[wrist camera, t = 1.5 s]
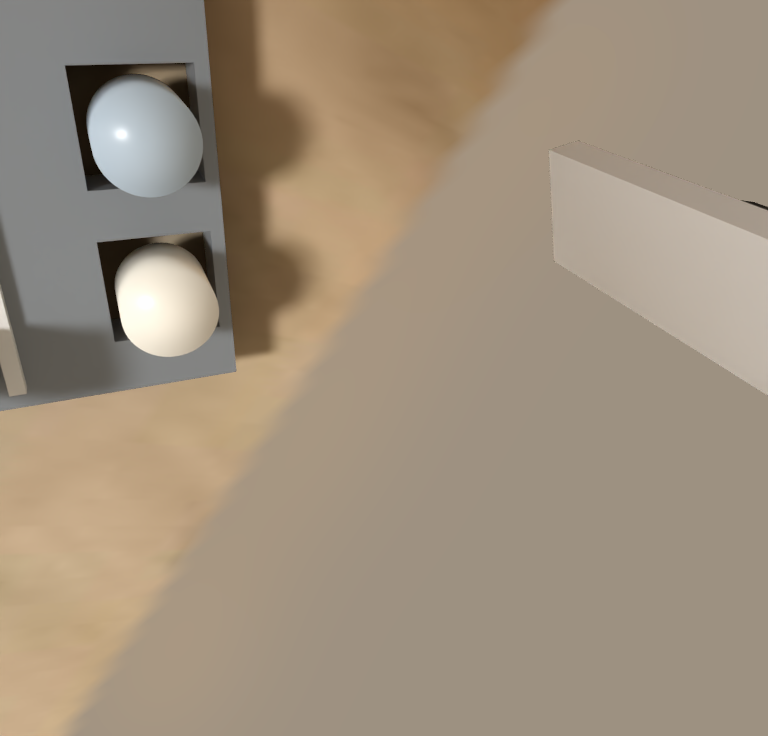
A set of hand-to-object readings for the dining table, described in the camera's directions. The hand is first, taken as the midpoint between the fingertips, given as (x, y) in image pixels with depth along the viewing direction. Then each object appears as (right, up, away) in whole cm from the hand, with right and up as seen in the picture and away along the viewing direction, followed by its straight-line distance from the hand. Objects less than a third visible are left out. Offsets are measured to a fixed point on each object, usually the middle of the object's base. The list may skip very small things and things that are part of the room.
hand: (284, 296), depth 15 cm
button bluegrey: (-8, +8, +14) cm, 18 cm away
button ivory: (-8, +2, +18) cm, 20 cm away
